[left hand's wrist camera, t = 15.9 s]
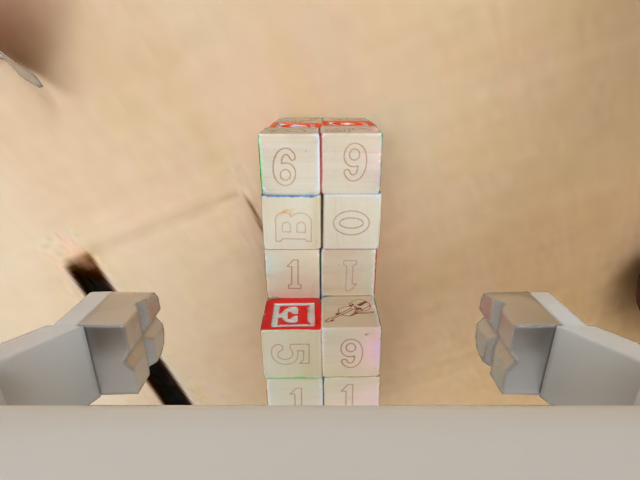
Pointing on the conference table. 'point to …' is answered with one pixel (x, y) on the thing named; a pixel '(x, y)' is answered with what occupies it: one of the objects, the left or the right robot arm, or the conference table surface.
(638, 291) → the plum
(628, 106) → the conference table surface
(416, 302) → the conference table surface
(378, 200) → the stack of blocks
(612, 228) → the conference table surface
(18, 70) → the fish
